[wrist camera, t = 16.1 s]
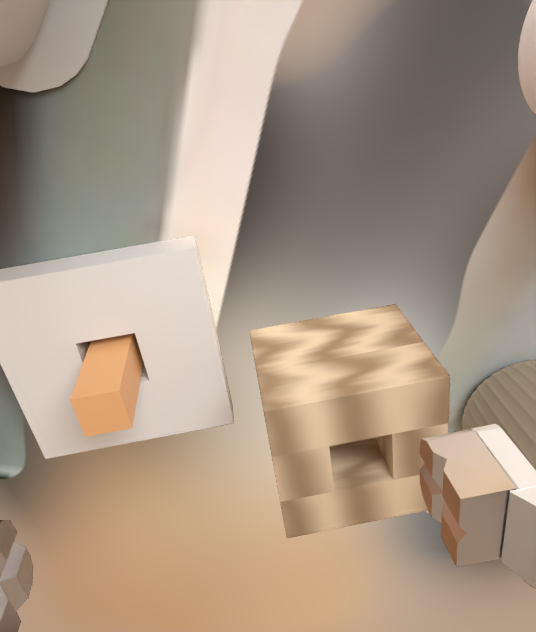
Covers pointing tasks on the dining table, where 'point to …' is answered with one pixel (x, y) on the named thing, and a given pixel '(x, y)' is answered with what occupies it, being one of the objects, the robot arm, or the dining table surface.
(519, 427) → the canister
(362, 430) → the notched wooden cube
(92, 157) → the dining table surface
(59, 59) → the wireless router
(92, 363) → the peg
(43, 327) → the socket plate
